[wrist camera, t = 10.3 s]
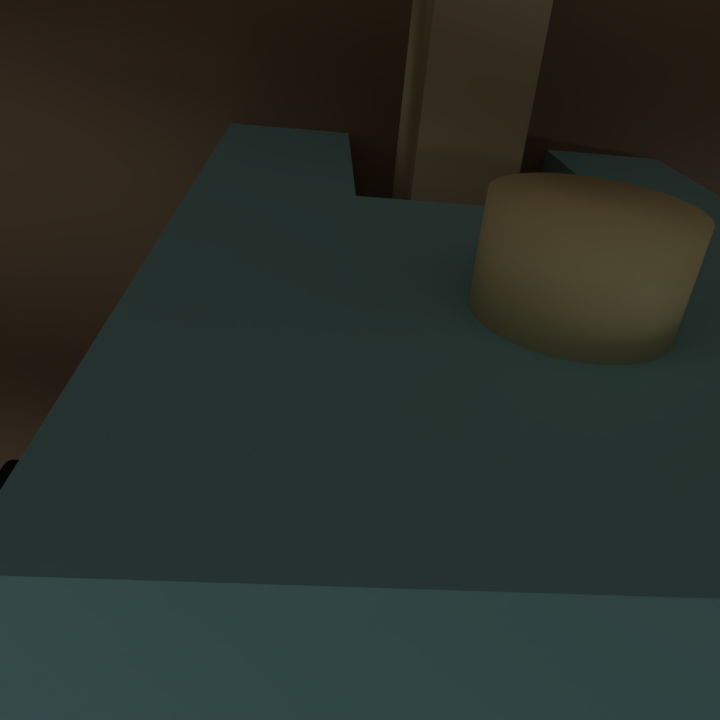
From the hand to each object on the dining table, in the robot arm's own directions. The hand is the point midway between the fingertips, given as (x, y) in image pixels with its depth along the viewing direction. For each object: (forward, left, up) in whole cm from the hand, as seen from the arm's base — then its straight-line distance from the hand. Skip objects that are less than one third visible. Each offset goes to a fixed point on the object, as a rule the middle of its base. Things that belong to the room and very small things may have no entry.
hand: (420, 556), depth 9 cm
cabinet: (0, 0, -3) cm, 3 cm away
